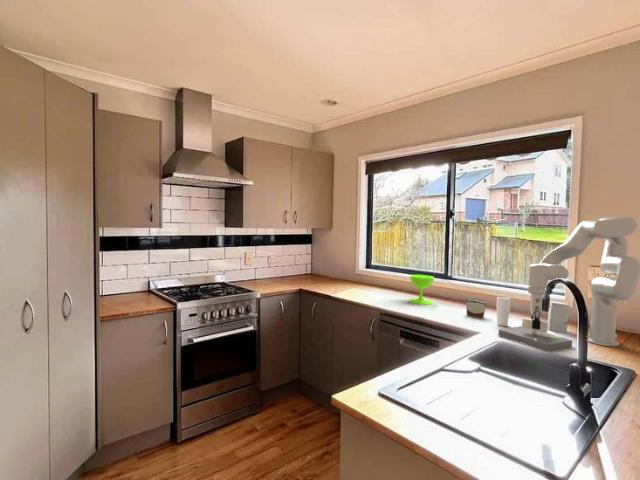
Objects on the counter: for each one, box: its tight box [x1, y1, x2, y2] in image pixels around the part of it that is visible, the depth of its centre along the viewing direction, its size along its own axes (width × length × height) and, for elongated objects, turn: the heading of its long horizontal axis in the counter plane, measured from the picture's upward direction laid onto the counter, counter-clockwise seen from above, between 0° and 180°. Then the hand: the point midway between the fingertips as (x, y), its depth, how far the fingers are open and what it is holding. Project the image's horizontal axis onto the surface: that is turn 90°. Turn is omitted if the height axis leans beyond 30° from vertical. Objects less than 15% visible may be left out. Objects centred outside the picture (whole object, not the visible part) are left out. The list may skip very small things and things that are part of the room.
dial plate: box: [497, 325, 573, 352], centre depth 170 cm, size 18×24×3 cm
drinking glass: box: [496, 296, 512, 327], centre depth 197 cm, size 7×7×15 cm
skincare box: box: [547, 300, 570, 333], centre depth 191 cm, size 8×6×15 cm
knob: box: [521, 317, 561, 339], centre depth 168 cm, size 15×3×6 cm, turn 51°
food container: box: [464, 297, 488, 319], centre depth 215 cm, size 12×6×10 cm, turn 47°
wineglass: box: [408, 274, 435, 306], centre depth 250 cm, size 16×16×18 cm
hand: (535, 326), depth 170 cm, fingers open, 9 cm apart
